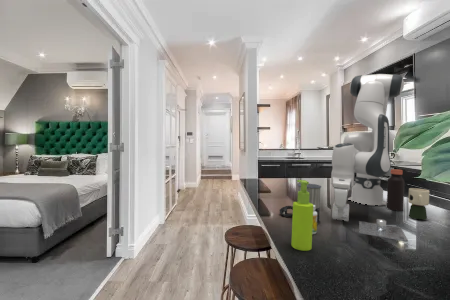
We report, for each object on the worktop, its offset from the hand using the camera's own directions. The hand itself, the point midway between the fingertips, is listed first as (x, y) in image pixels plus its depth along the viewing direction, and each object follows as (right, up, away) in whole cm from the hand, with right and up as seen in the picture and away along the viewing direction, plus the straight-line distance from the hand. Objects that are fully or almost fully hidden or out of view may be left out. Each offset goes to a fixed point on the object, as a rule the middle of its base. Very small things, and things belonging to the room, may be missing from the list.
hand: (340, 213), depth 105 cm
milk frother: (-19, -2, -2) cm, 19 cm away
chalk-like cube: (0, -2, 0) cm, 2 cm away
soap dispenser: (-26, -2, -30) cm, 40 cm away
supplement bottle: (-20, -2, -18) cm, 27 cm away
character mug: (+35, -3, +3) cm, 35 cm away
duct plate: (+8, -3, -14) cm, 17 cm away
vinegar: (+36, -3, +18) cm, 40 cm away
